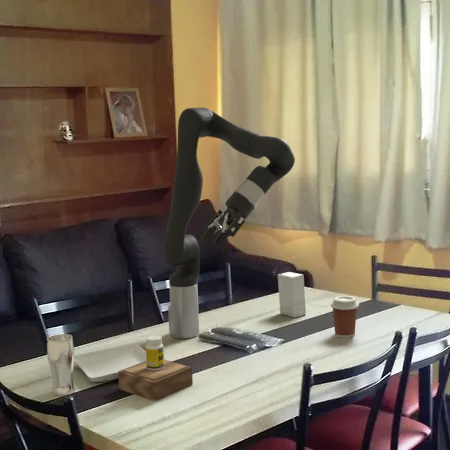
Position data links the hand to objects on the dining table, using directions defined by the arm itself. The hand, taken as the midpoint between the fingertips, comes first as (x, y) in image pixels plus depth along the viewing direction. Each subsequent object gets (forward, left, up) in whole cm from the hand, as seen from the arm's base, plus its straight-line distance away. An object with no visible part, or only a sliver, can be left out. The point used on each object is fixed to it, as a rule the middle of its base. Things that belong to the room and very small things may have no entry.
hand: (209, 243), depth 206 cm
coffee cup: (+14, +49, -37) cm, 63 cm away
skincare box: (-14, +59, -37) cm, 71 cm away
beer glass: (-21, -37, -37) cm, 56 cm away
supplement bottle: (-4, -20, -32) cm, 37 cm away
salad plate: (-24, -17, -37) cm, 47 cm away
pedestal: (-3, -20, -37) cm, 42 cm away
